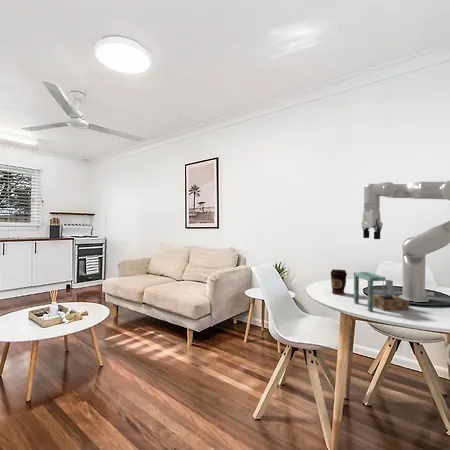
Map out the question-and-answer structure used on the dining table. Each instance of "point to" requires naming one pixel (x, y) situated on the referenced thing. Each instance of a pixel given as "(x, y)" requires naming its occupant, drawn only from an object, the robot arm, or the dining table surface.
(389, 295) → the peg
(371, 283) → the socket station
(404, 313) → the dining table surface
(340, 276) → the coffee cup
